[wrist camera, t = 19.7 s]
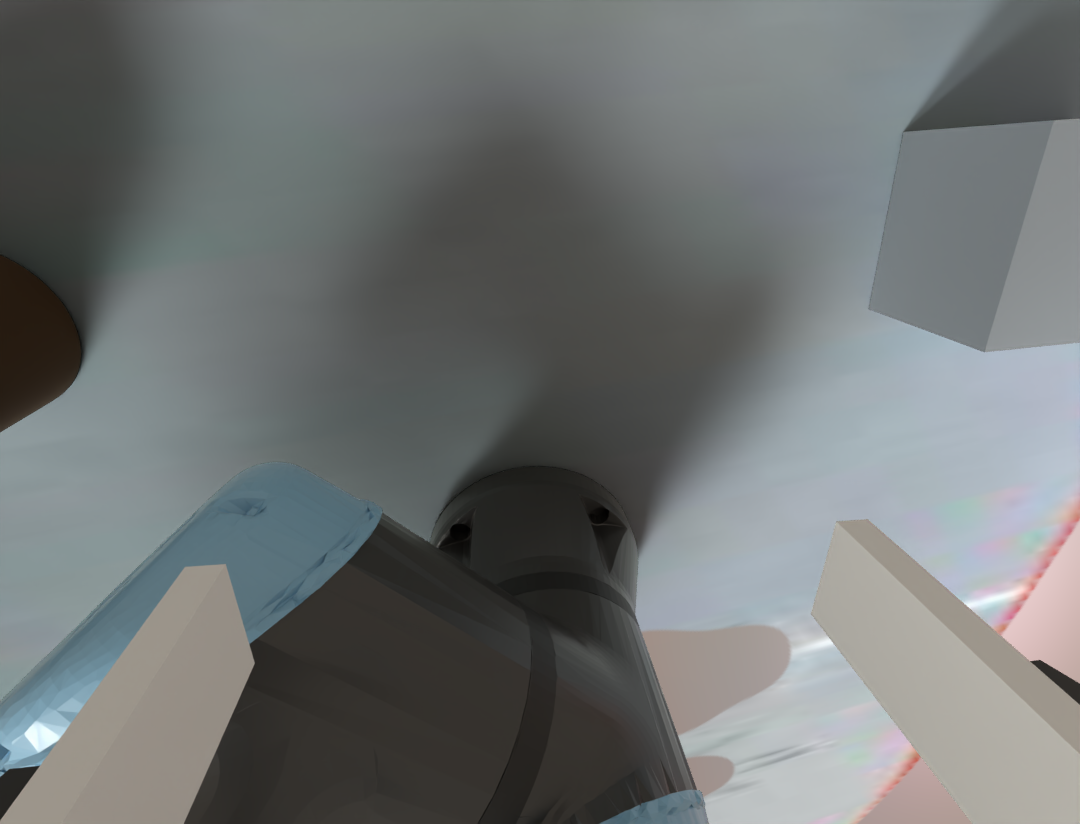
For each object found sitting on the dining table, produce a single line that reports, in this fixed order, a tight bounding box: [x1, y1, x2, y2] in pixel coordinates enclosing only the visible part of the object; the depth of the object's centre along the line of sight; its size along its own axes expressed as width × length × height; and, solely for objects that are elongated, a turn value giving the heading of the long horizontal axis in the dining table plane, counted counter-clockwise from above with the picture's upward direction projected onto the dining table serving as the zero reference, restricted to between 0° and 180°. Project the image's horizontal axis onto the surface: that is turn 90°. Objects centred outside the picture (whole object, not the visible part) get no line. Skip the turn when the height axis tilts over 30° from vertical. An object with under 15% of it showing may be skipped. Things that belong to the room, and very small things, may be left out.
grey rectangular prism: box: [869, 118, 1080, 352], centre depth 29 cm, size 10×10×9 cm
